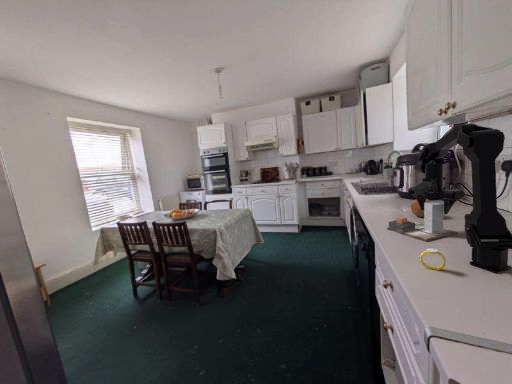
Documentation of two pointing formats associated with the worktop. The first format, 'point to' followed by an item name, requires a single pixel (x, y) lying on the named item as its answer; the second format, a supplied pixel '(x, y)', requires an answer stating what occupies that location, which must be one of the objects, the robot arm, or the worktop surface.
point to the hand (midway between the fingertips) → (433, 212)
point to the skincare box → (433, 217)
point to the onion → (417, 208)
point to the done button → (401, 220)
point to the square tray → (417, 231)
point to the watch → (433, 251)
